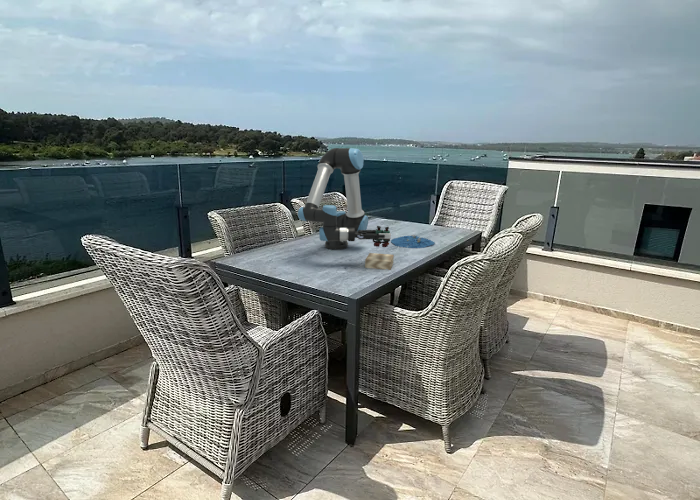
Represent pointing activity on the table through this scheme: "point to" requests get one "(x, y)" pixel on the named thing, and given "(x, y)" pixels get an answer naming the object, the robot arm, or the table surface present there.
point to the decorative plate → (412, 242)
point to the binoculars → (385, 241)
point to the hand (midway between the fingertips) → (389, 234)
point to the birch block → (379, 261)
